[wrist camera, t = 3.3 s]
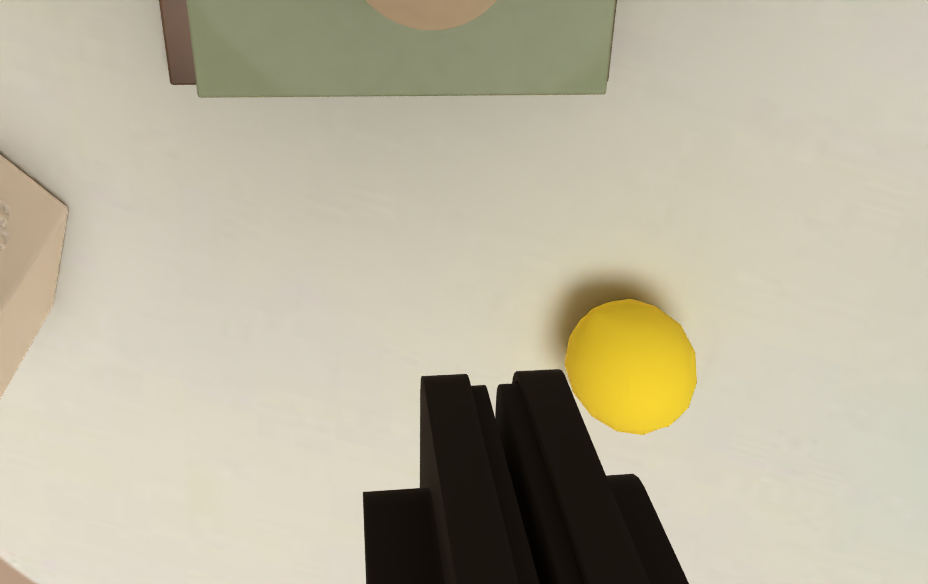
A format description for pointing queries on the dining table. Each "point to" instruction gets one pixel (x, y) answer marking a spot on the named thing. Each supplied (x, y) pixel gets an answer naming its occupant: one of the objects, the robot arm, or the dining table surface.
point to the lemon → (631, 366)
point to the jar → (26, 262)
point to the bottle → (431, 12)
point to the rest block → (398, 50)
